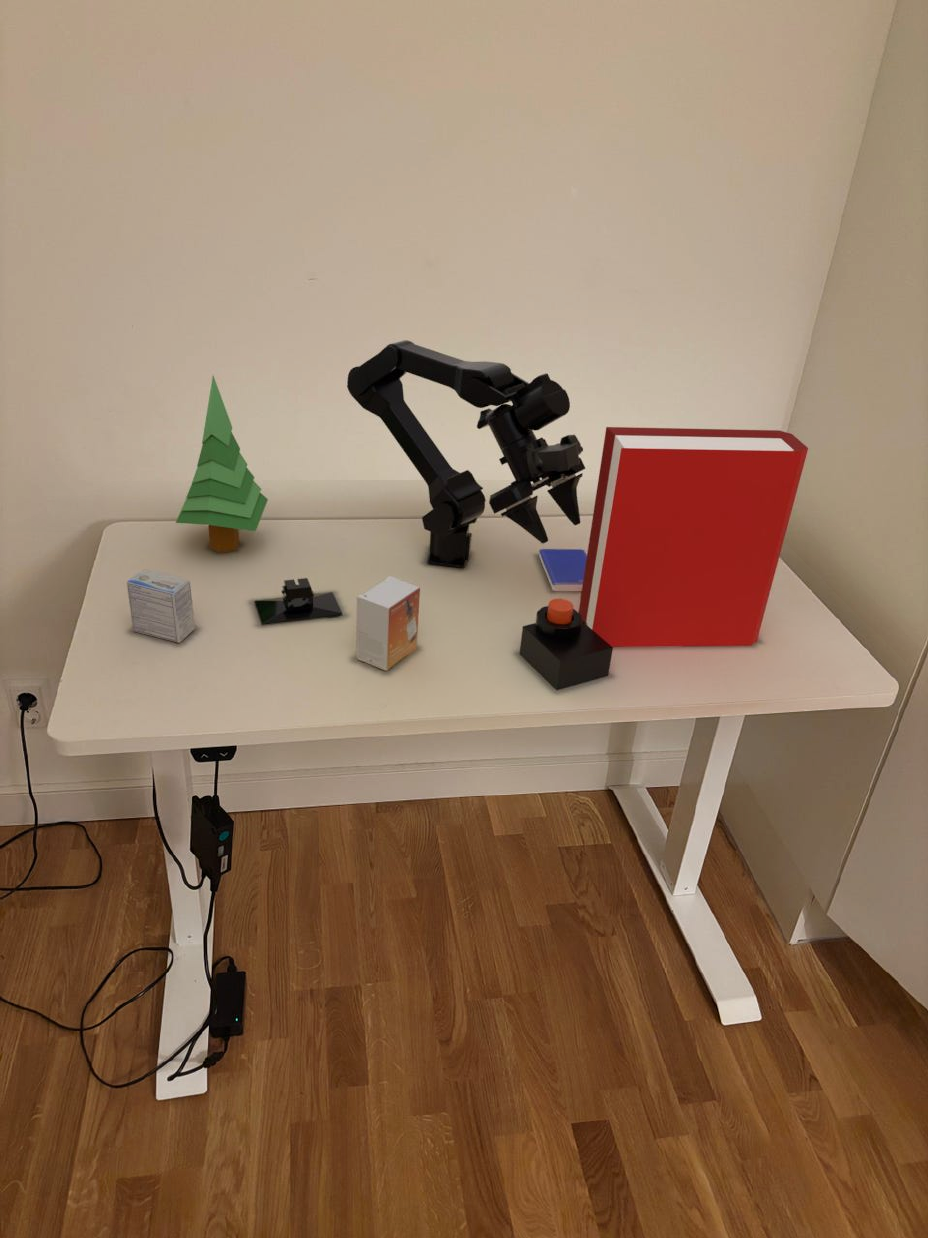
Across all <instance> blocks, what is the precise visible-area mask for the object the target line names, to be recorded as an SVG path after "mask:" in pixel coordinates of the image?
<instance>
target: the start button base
mask: <svg viewBox="0 0 928 1238" xmlns="http://www.w3.org/2000/svg"><path fill="white" fill-rule="evenodd" d="M547 612H548V605H546V606H541V608H539V609H538V610H537V611H536V615H535V616H536V617H535V622H533V623H530V624H526V625H522V631H521V641H520V647H519V656H520V657H522V658H523V660H524V661H526V662H527V663H528V664H529V665H530V666H531V667H532V668H533V669H534V670H535V671H536V672H537V674H539V675H540V676H541V677H542V678H543V679H544V680H545V681H546V682H547V683H548V684H549V685H550V686H551V687H553V689H554V690H555V691H559V690H563V689H567V688H571V687H575V686H577V685H582V684H584V683H588V682H592V681H596V680H599V679H602V678H607V677H609V673H610V667H611V662H612V657H613V651H614V647H612V646H611V645H609V644H608V643H607V642H606V641H605V640H604V639H602V638H601V637H600V636H599V635H598V634H597V633H595V632H594V631H593V630H592V629H591V628H589V627H588V625H587V623H586V622H583V621H582V617H581V614H579V613H578V612H579V611H577V610H576V609H574V608H573V614H572V620H571V622H570V623H567V624H556V623H553V622H550V621H549V620H548V619H547Z"/></svg>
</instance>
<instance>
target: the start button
mask: <svg viewBox="0 0 928 1238" xmlns="http://www.w3.org/2000/svg"><path fill="white" fill-rule="evenodd" d="M547 606H548V612H547V619H548V620H549V621H550V622H553V623H556V624H567V623H570V622H571V620H572V614H573V609H574V607H575V606H574V604H573V603H572V602H571V601H570V600H568V599H565V598H552V599H551V600H549V601H548V605H547Z"/></svg>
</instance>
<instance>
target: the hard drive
mask: <svg viewBox="0 0 928 1238" xmlns="http://www.w3.org/2000/svg"><path fill="white" fill-rule="evenodd" d="M538 557H539V560H540V562H541V564H542V568H543V570H544V572H545V575H546V577H547V580H548V582H549V584H550V587H551V589H552V591H554V592H582V586H583V579H584V572H585V566H586V559H587V553H586V551H585V549H582V548H581V549H578V548H577V549H576V548H575V549H574V548H572V549H571V548H541V549H539V550H538Z"/></svg>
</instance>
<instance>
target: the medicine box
mask: <svg viewBox="0 0 928 1238" xmlns="http://www.w3.org/2000/svg"><path fill="white" fill-rule="evenodd" d="M126 589H127V596H128V603H129V609H130V610H129V611H130V618H131V625H132V631H133V632H135V633H139V634H143V635H147V636H150V637H154V638H158V639H162V640H165V641H166V640H167V641H170V642H174V643H178V644H181V643H182V641H184V639H186V638H187V637H188V636H189V635H190V634H191V633H192V632H194V630H196V622H195V613H194V606H193V605H194V604H193V596H192V587H191V580H190V579H188V578H183V577H180V576H175V575H171V574H167V573H164V572H159V571H155V570H150V569H147V568H144V569H142V570H141V571H139V572H137V573H136V574H135V575H133V576H132V577H131V578H129V579H128V580H127V581H126Z"/></svg>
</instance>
